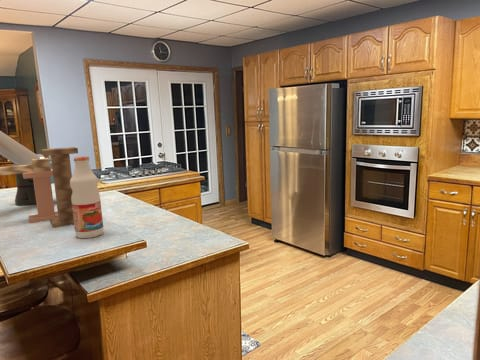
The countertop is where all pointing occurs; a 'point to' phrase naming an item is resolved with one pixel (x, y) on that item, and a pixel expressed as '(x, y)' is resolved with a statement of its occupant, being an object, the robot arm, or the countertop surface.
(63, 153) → the walnut stand
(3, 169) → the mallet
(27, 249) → the countertop surface
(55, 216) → the terracotta stand
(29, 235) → the countertop surface
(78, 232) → the fruit juice
